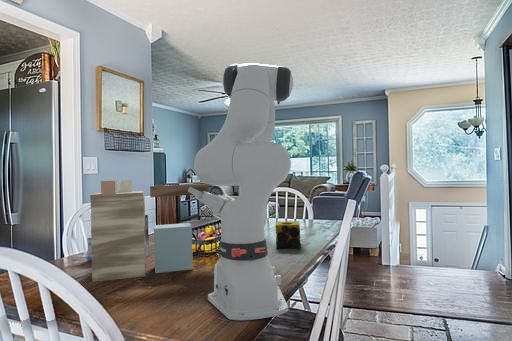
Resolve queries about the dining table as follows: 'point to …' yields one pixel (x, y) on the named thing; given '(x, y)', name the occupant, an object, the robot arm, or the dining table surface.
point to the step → (173, 247)
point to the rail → (175, 190)
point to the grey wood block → (118, 235)
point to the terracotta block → (108, 187)
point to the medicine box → (89, 249)
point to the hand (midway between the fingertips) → (187, 188)
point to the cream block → (124, 185)
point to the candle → (288, 235)
